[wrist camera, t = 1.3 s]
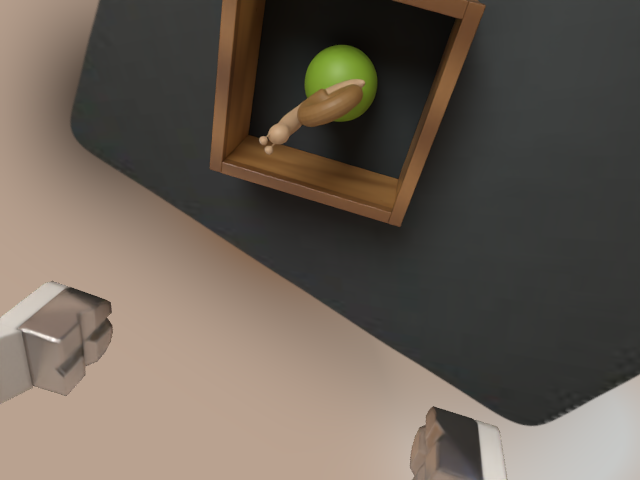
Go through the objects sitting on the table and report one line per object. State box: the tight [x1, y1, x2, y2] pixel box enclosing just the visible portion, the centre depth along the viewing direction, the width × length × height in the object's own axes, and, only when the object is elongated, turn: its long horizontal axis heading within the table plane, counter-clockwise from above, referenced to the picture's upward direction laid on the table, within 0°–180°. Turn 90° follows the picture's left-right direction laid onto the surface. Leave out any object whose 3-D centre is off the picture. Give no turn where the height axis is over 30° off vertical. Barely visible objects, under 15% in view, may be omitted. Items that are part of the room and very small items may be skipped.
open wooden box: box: [210, 0, 486, 227], centre depth 33 cm, size 16×16×6 cm
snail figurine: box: [259, 45, 377, 155], centre depth 31 cm, size 5×6×12 cm
